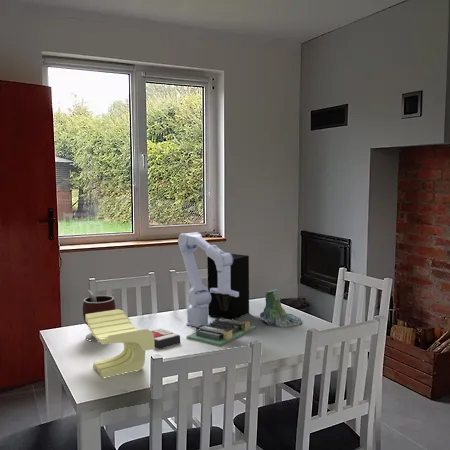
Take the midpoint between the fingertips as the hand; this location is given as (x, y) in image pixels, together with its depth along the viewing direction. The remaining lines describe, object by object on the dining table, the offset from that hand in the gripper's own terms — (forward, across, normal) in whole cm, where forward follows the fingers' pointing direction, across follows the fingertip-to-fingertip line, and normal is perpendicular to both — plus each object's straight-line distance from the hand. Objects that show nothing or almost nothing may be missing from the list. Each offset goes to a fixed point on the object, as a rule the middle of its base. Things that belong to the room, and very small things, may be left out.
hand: (224, 310), depth 217 cm
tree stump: (+11, -12, -29) cm, 33 cm away
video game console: (+11, +15, -25) cm, 31 cm away
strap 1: (+7, 0, +8) cm, 11 cm away
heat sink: (+9, 0, +1) cm, 9 cm away
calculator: (+11, +16, +24) cm, 31 cm away
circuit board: (+10, 0, +1) cm, 10 cm away
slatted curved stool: (+10, +9, +54) cm, 56 cm away
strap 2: (+7, 0, -6) cm, 9 cm away
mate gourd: (+11, +43, +35) cm, 56 cm away
